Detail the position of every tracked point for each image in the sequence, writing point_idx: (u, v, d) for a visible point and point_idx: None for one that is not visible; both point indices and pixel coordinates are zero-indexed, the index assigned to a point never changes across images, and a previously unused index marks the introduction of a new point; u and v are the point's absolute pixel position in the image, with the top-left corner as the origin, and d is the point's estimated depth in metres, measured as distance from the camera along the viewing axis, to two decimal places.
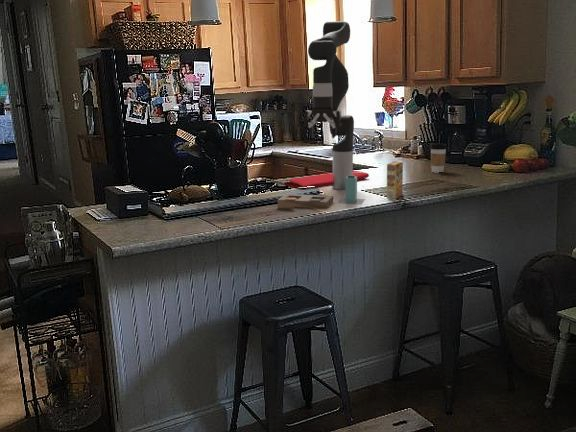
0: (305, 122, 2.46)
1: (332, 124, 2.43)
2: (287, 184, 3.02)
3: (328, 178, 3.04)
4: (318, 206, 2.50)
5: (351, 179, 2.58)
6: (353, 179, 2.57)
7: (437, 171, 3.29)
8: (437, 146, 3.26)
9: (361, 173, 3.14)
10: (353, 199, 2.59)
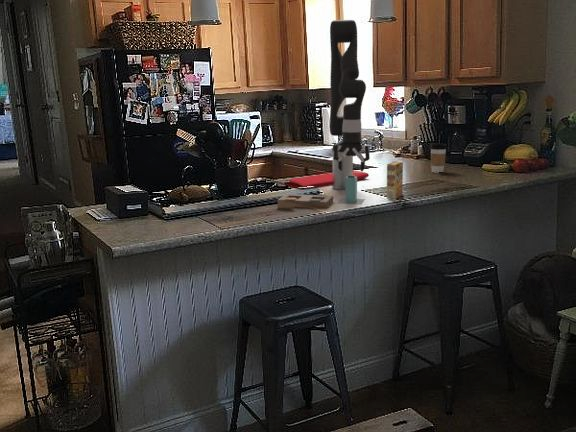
0: (335, 156, 2.58)
1: (361, 158, 2.55)
2: (287, 184, 3.03)
3: (328, 178, 3.05)
4: (318, 206, 2.50)
5: (351, 179, 2.58)
6: (353, 179, 2.57)
7: (437, 171, 3.29)
8: (437, 146, 3.26)
9: (361, 173, 3.15)
10: (353, 199, 2.59)
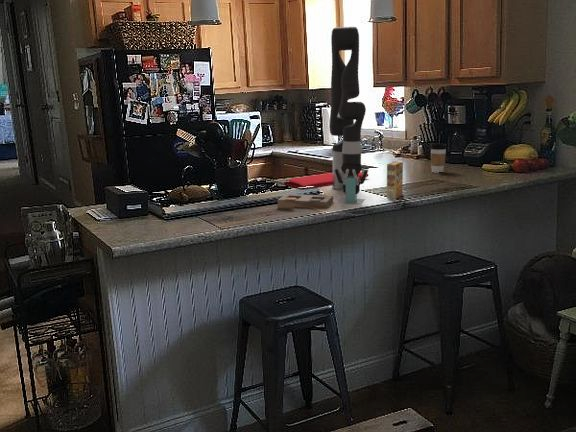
0: (339, 179, 2.60)
1: (356, 181, 2.58)
2: (287, 184, 3.03)
3: (328, 178, 3.05)
4: (318, 206, 2.50)
5: (351, 179, 2.58)
6: (353, 179, 2.57)
7: (437, 171, 3.29)
8: (437, 146, 3.26)
9: (360, 173, 3.15)
10: (353, 199, 2.59)
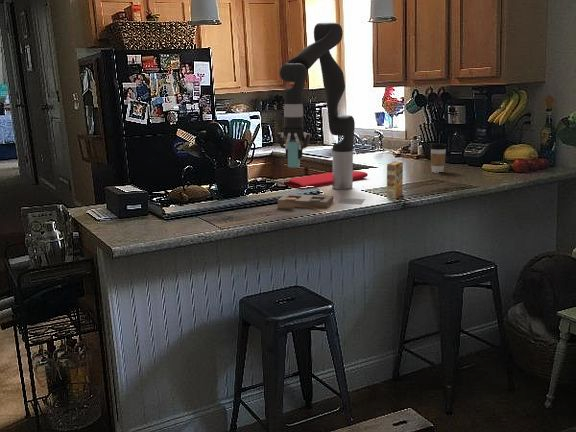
0: (281, 144, 2.54)
1: (298, 146, 2.52)
2: None
3: (327, 178, 3.05)
4: (318, 206, 2.50)
5: (293, 143, 2.51)
6: (295, 143, 2.51)
7: (437, 171, 3.29)
8: (437, 146, 3.26)
9: (360, 172, 3.16)
10: (295, 164, 2.53)
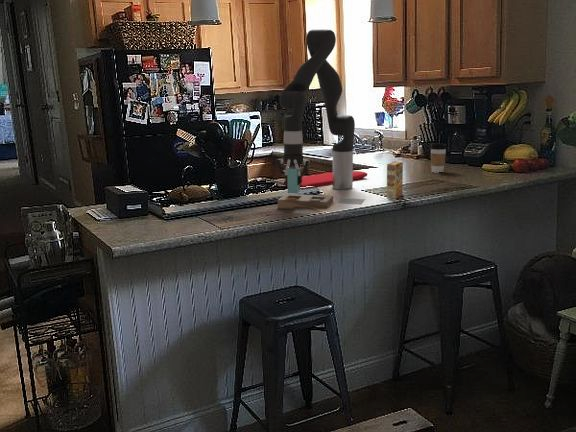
0: (281, 170, 2.56)
1: None
2: None
3: (327, 177, 3.06)
4: (318, 206, 2.50)
5: (293, 170, 2.54)
6: (295, 170, 2.54)
7: (437, 171, 3.29)
8: (437, 146, 3.26)
9: (359, 172, 3.16)
10: (295, 190, 2.56)
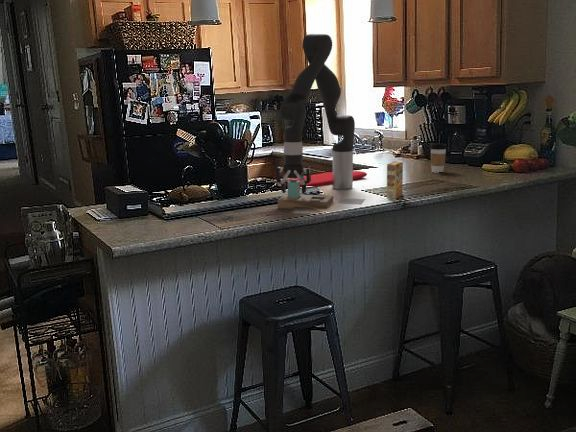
0: (277, 178, 2.58)
1: (302, 181, 2.55)
2: None
3: (327, 177, 3.06)
4: (318, 206, 2.50)
5: (293, 183, 2.55)
6: (295, 183, 2.55)
7: (437, 171, 3.29)
8: (437, 146, 3.26)
9: (359, 172, 3.17)
10: None
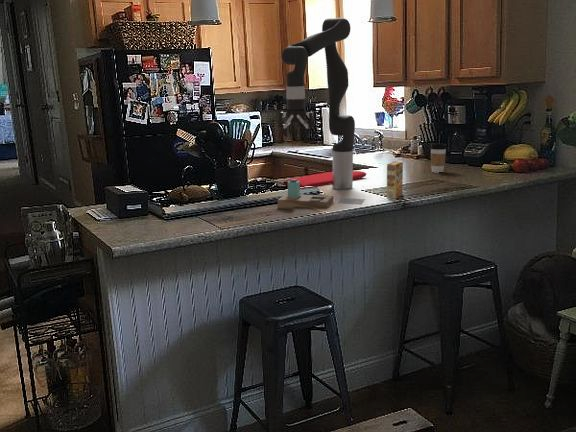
0: (280, 123, 2.61)
1: (305, 125, 2.58)
2: None
3: (326, 177, 3.06)
4: (318, 206, 2.50)
5: (293, 183, 2.55)
6: (295, 183, 2.55)
7: (437, 171, 3.29)
8: (437, 146, 3.26)
9: (358, 172, 3.17)
10: None
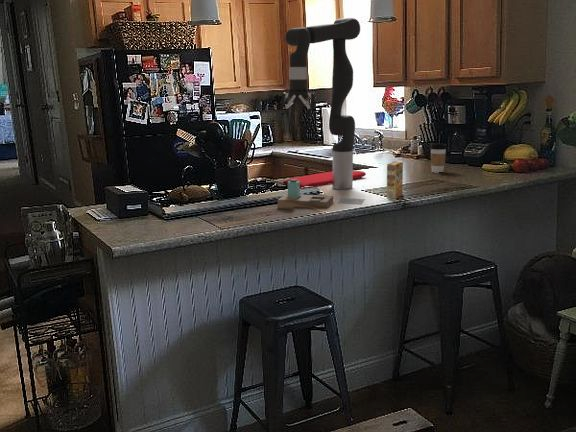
0: (282, 103, 2.66)
1: (307, 105, 2.63)
2: (286, 183, 3.04)
3: (326, 177, 3.07)
4: (318, 206, 2.50)
5: (293, 183, 2.55)
6: (295, 183, 2.55)
7: (437, 171, 3.29)
8: (437, 146, 3.26)
9: (358, 172, 3.18)
10: None
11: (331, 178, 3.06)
